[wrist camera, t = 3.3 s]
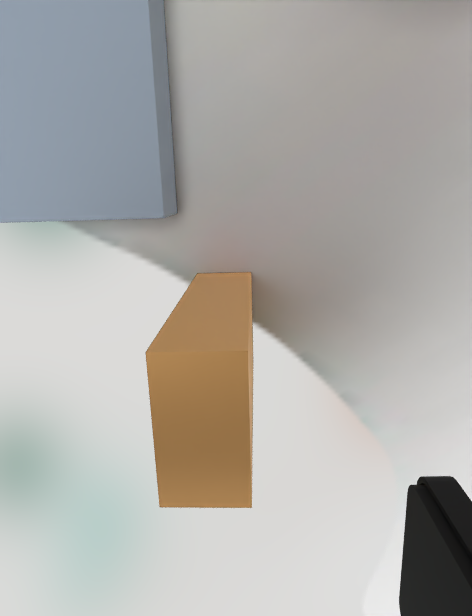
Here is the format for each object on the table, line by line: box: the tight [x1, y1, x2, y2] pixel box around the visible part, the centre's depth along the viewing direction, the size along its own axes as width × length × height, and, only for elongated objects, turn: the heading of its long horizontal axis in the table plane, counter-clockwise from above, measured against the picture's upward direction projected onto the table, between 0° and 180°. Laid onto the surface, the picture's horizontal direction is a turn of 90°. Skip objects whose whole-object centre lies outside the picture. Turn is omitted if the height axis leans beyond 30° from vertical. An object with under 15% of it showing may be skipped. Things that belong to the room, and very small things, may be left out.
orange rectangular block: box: [146, 272, 253, 508], centre depth 16 cm, size 2×4×10 cm, turn 2°
